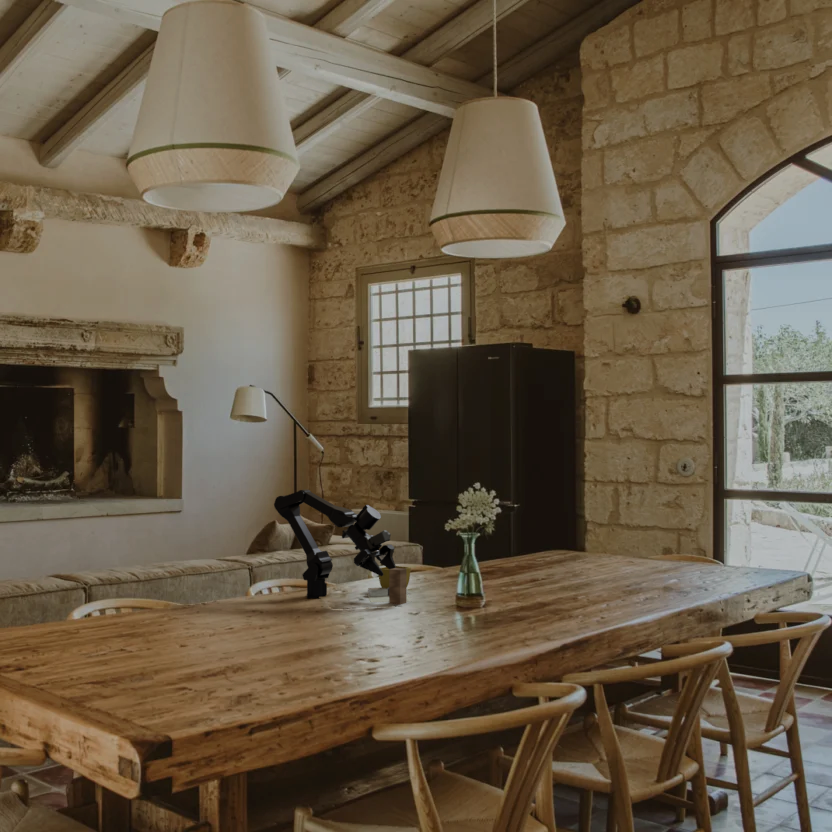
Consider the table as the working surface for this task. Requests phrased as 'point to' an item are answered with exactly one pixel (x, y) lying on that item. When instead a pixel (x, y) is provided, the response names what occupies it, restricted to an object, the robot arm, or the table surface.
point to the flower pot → (385, 578)
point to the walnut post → (397, 586)
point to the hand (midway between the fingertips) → (389, 573)
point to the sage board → (385, 599)
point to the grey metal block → (378, 592)
